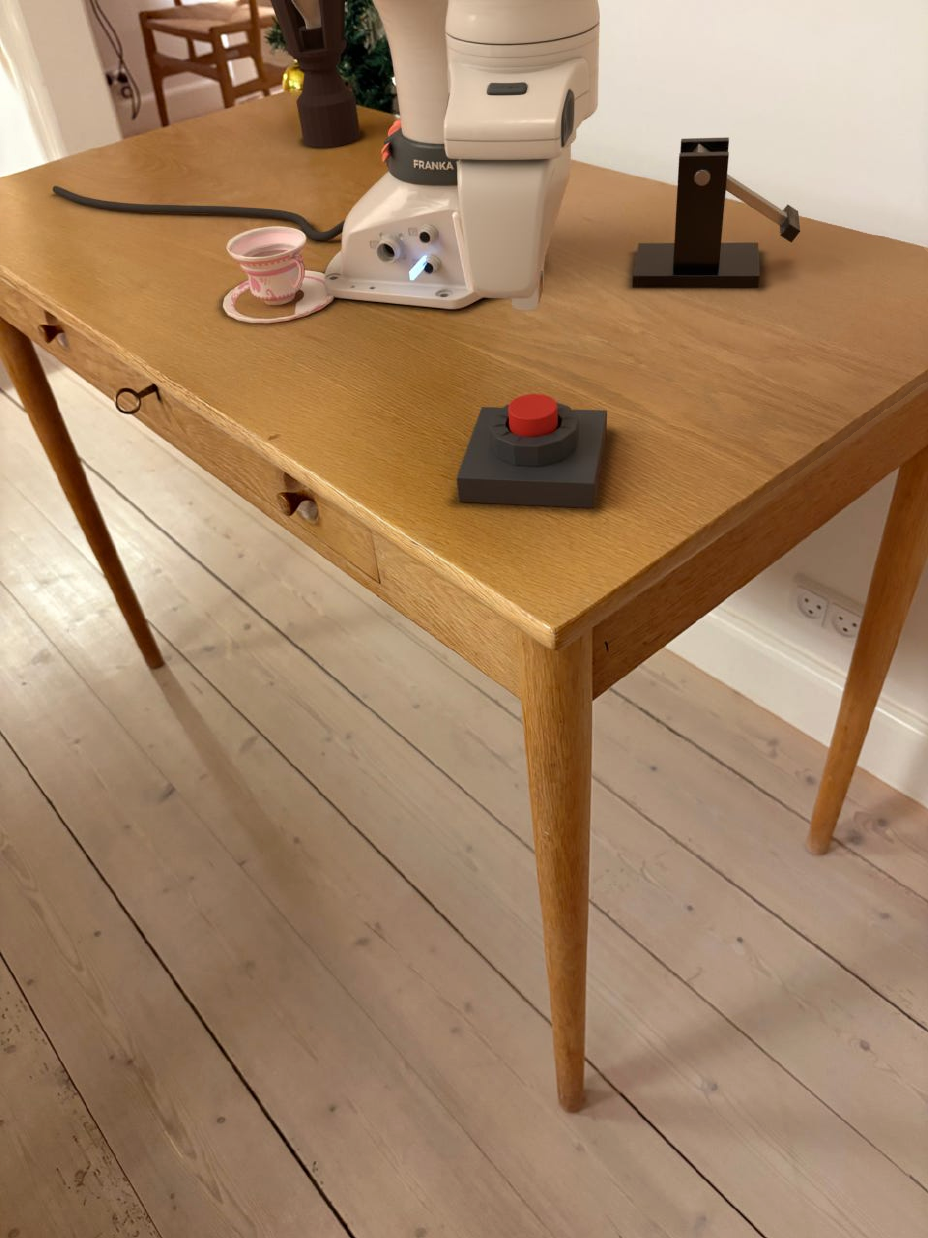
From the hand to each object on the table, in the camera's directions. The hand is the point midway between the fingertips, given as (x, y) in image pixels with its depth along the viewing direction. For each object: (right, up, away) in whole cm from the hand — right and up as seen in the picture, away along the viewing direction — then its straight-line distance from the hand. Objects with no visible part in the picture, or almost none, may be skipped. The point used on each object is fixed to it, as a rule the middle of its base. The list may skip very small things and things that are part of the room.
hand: (528, 301), depth 69 cm
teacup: (-23, +11, +36) cm, 45 cm away
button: (+1, -7, +6) cm, 10 cm away
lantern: (-23, +47, +75) cm, 91 cm away
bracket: (+19, +13, +32) cm, 40 cm away
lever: (+21, +18, +27) cm, 39 cm away
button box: (+1, -10, +8) cm, 13 cm away
